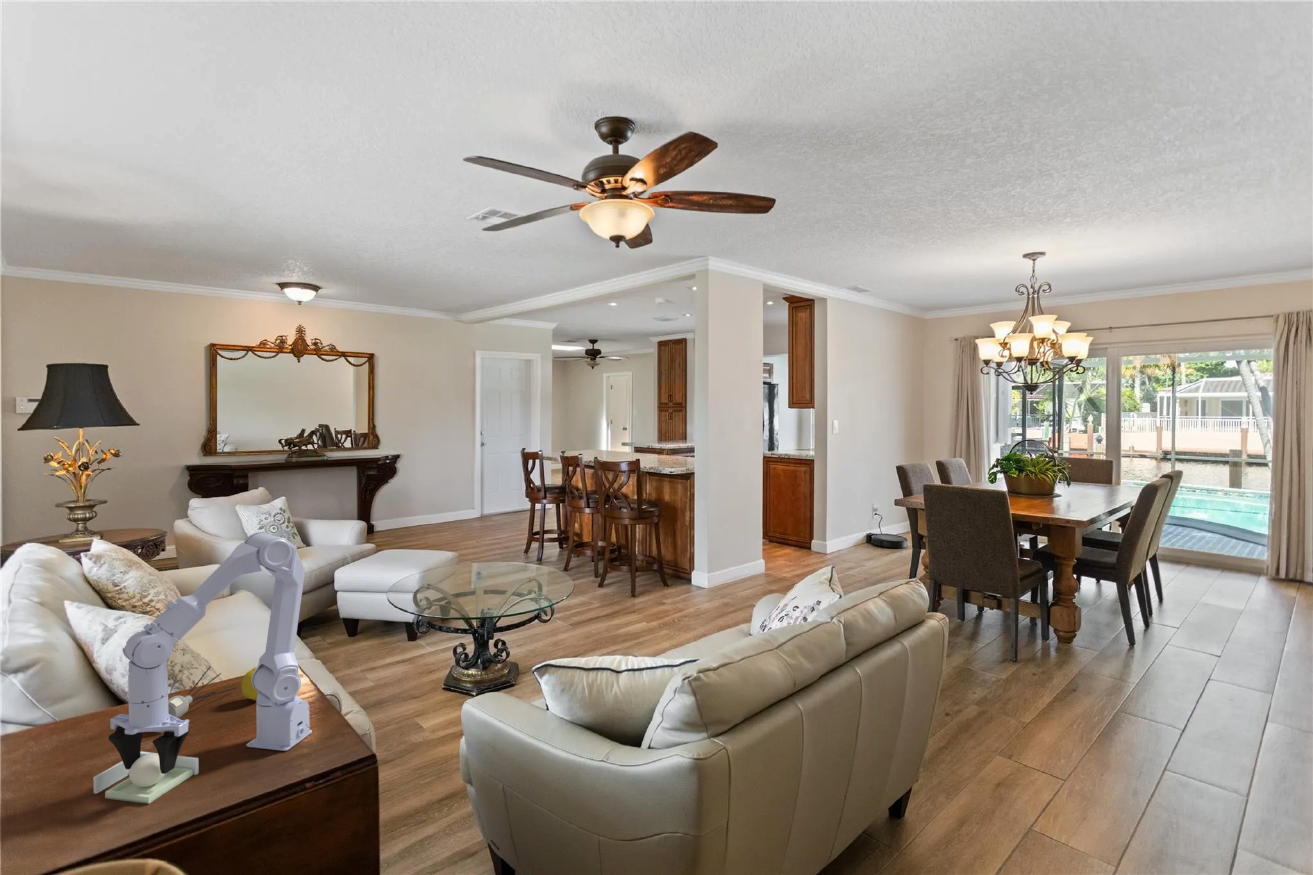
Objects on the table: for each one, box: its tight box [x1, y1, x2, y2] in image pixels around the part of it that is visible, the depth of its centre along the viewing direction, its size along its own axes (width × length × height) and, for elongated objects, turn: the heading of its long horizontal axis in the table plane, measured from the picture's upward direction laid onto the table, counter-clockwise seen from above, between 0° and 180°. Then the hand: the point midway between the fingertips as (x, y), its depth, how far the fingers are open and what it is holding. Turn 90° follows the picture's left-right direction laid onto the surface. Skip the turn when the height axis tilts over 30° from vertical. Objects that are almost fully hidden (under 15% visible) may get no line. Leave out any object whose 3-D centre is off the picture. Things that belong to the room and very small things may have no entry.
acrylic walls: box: [92, 750, 200, 794], centre depth 120 cm, size 13×9×3 cm
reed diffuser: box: [168, 666, 238, 726], centre depth 148 cm, size 10×7×20 cm
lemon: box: [241, 667, 258, 702], centre depth 153 cm, size 6×6×8 cm
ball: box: [128, 752, 165, 787], centre depth 119 cm, size 6×6×6 cm
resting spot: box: [104, 767, 194, 805], centre depth 119 cm, size 9×9×1 cm
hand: (150, 768), depth 118 cm, fingers open, 7 cm apart
